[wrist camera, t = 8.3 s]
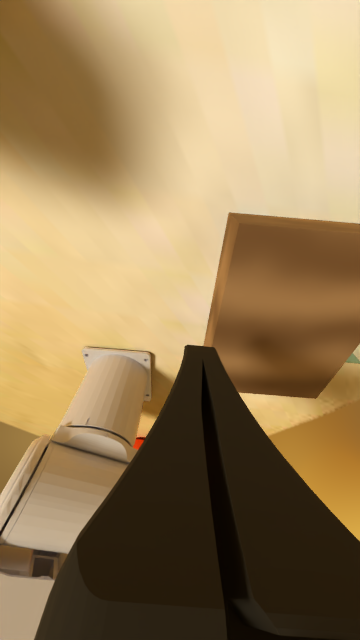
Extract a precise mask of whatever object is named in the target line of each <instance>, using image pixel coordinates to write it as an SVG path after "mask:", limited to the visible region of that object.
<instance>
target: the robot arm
mask: <svg viewBox="0 0 360 640" xmlns="http://www.w3.org/2000/svg"><path fill="white" fill-rule="evenodd" d="M82 354H83V357H84V361H85V364H86V367H87V373H86V375H85V377H84V379H83V381H82V383H81V384H80V386H79V388H78V390H77V392H76V394H75V396H74V398H73V400H72V402H71V404H70V405H69V407H68V409H67V411H66V413H65V415H64V417H63V419H62V421H61V423H60V425H59V426H58V428H57V429H56V431H55V433H54V434H53V436H52V437H51V439H50V436H49V435H46V434H44V435H42V436H41V438H40V437H39V438H37V439H35V440H33V442H32V443H31V444H30V446H29V448H28V449H27V451H26V453H25V454H24V456H23V458H22V459H21V461H20V463H19V464H18V466H17V468H16V469H15V471H14V473H13V475H12V476H11V478H10V479H9V481H8V483H7V485H6V486H5V488H4V490H3V491H2V493H1V495H0V640H360V541H359V540H358V539H357V538H356V537H355V536H354V535H353V534H352V533H351V532H350V531H349V530H348V529H347V528H346V527H345V526H344V525H343V524H342V523H341V522H340V520H339V519H338V518H337V517H336V516H335V515H334V514H333V513H332V512H331V511H330V510H329V509H328V507H326V505H325V504H324V503H323V502H322V501H321V500H320V499H319V498H318V496H317V495H316V494H315V493H314V492H313V491H312V490H311V489H310V488H309V486H308V485H307V484H306V483H305V482H304V480H303V479H302V478H301V477H300V476H299V475H298V473H297V472H296V471H295V470H294V469H293V467H292V466H291V465H290V464H289V463H288V462H287V461H286V459H285V458H284V457H283V456H282V454H281V453H280V452H279V451H278V449H277V448H276V447H275V445H274V444H273V443H272V441H271V440H270V439H269V438H268V436H267V435H266V434H265V432H264V431H263V429H262V428H261V427H260V425H259V424H258V422H257V421H256V420H255V418H254V417H253V415H252V414H251V412H250V411H249V409H248V408H247V406H246V404H245V403H244V401H243V400H242V398H241V397H240V395H239V393H238V392H237V390H236V388H235V386H234V385H233V383H232V381H231V379H230V377H229V376H228V374H227V372H226V370H225V368H224V366H223V364H222V362H221V360H220V358H219V355H218V353H217V351H216V349H215V348H214V347H207V346H194V345H187V346H185V349H184V356H183V360H182V364H181V367H180V370H179V372H178V375H177V377H176V380H175V383H174V385H173V387H172V389H171V392H170V394H169V396H168V398H167V400H166V402H165V404H164V406H163V408H162V410H161V412H160V414H159V416H158V417H157V419H156V421H155V423H154V425H153V426H152V428H151V430H150V431H149V433H148V435H147V436H146V438H145V440H144V441H143V443H142V445H141V446H140V448H139V449H135V448H133V446H134V444H135V441H136V436H137V431H138V426H139V422H140V417H141V412H142V407H143V402H144V401H151V398H152V395H151V355H150V353H148V352H140V351H128V350H116V349H104V348H92V347H84V348H83V349H82ZM49 439H50V440H49Z"/></svg>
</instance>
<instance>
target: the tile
mask: <svg viewBox="0 0 360 640" xmlns="http://www.w3.org/2000/svg"><path fill="white" fill-rule="evenodd" d="M353 354H354V355H355V356H356V357H357V358H358V360H359V361H360V344H359V345H358V347H357V348H356V349H355V350H354V352H353Z"/></svg>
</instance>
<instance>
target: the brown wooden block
mask: <svg viewBox="0 0 360 640" xmlns="http://www.w3.org/2000/svg"><path fill="white" fill-rule="evenodd" d="M359 344H360V224H355V223H343V222H332V221H320V220H309V219H297V218H286V217H274V216H263V215H251V214H239V213H229V214H228V220H227V225H226V230H225V235H224V241H223V246H222V251H221V257H220V262H219V267H218V272H217V278H216V283H215V288H214V294H213V299H212V304H211V309H210V315H209V320H208V325H207V331H206V336H205V341H204V346H207V347H214V348H215V349H216V351H217V353H218V355H219V358H220V360H221V362H222V364H223V366H224V368H225V370H226V372H227V374H228V376H229V377H230V379H231V381H232V383H233V385H234V386H235V388H236V390H237V392H241V393H253V394H265V395H278V396H290V397H303V398H315V399H316V398H317V397H318V396H319V394H320V393H321V392H322V391H323V389H324V388H325V387H326V386H327V384H328V383H329V382H330V381H331V379H332V378H333V377H334V376H335V374H336V373H337V372H338V370H339V369H340V368H341V367H342V365H343V364H344V363H345V362H346V360H347V359H348V358H349V357H350V355H351V354H352V353H353V352H354V350H355V349H356V348H357V347H358V345H359Z"/></svg>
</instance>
